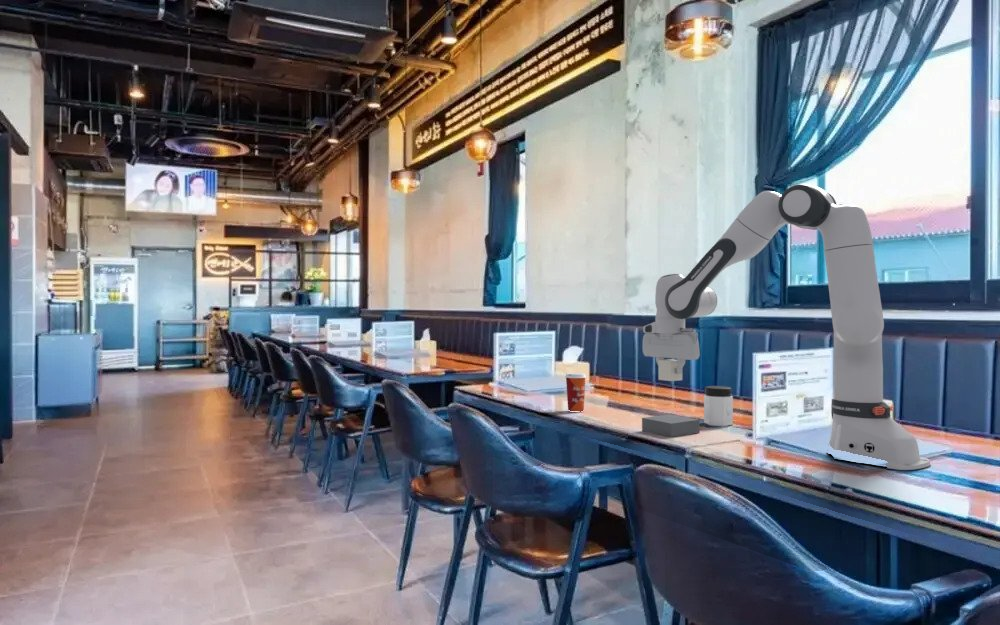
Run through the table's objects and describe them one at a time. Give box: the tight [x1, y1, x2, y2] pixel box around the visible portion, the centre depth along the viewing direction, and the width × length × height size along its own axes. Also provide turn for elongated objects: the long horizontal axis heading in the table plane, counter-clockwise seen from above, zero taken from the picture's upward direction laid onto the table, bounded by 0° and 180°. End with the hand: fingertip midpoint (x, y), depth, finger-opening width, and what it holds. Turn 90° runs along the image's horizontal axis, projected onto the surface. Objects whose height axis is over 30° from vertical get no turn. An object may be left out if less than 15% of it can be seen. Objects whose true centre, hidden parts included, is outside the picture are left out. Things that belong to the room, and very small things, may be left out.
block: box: [657, 358, 683, 382], centre depth 199 cm, size 5×5×6 cm
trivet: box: [641, 413, 701, 438], centre depth 199 cm, size 12×12×4 cm
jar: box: [703, 385, 734, 427], centre depth 212 cm, size 9×8×12 cm
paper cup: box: [565, 372, 587, 412], centre depth 239 cm, size 8×8×14 cm
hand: (670, 373), depth 199 cm, fingers closed on block, 5 cm apart
